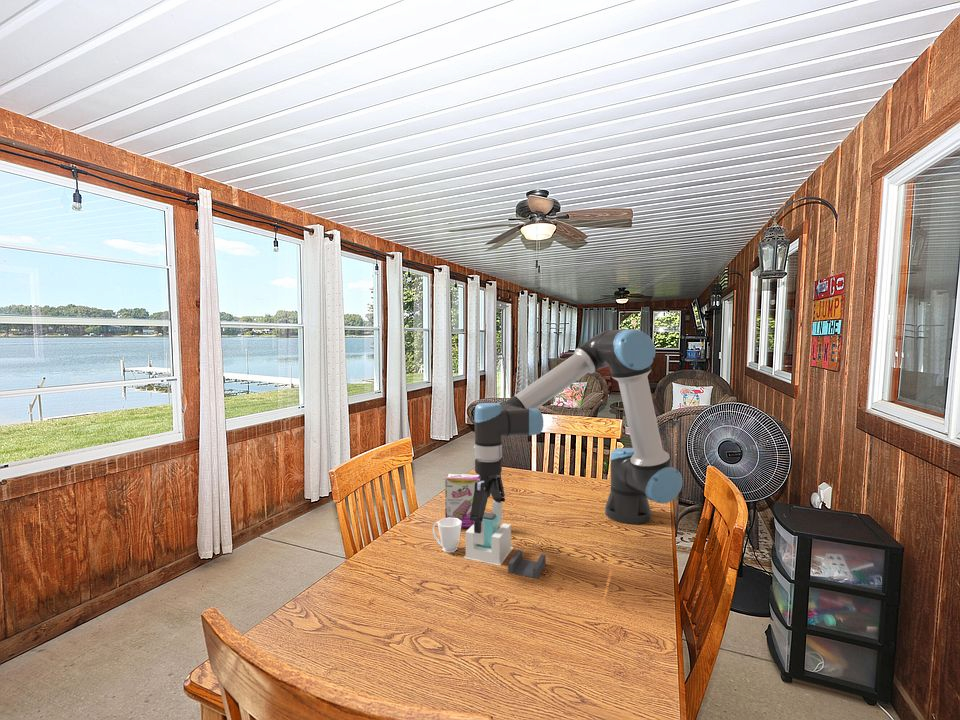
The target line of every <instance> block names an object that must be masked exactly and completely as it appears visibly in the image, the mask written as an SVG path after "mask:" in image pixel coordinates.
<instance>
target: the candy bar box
mask: <svg viewBox="0 0 960 720" xmlns="http://www.w3.org/2000/svg"><path fill="white" fill-rule="evenodd" d="M444 480H445V511H444V512H445V517H444V518H448V517H451V518H458V519H459V520H461V521H462V524H461V529H462V528H463V529H469V528H470V527H471V526H472V525H473V524H474V521H472V520H470V514H471V508H472V503H473V497H474V491H475V482H479V481H480V475H479V474H468V473H467V474H466V473H447V475H446V476H445V479H444Z"/></svg>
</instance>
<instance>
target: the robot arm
mask: <svg viewBox="0 0 960 720" xmlns="http://www.w3.org/2000/svg"><path fill="white" fill-rule="evenodd" d="M655 357H656V346H655V343H654V341H653V340H652V338H651V337H650V336H649V335H648V334H647V333H645V332H644V331H642V330H638V329H632V328H625V329H616V330H615V329H614V330H613V329H611V330H610V329H609V330H604V331H601V332H599V333H598V334H596V335H594V336H593V337H591V338H590V339H588V340H587V341H586V342H584V343H583V344H580V345H579V346H578V347H576V349H574V352H573V354H572V355H571V356H569V357H568V358H566V359H565V360H564V361H562V362H561V363H559V364H558V365H556V366H555V367H554V368H552V369H551V370H549V371H548V372H547V373H544V375H542V376H540V377H539V378H538V379H536V380H534V381H533V382H532V383H531V384H529V385H527V386H526V387H525V388H524V389H522V390H520V391H519V392H518V393H516V394H515V395H513V396H511V397H510V398H509V399H507V400H502V401H499V402H481V403H477V405H475V408H474V420H473V421H474V445H473V449H474V458H475V459H474V472H475V473H476V475H480V481H479V482H475V491H474V497H473V503H472V508H471V514H470V520H472V521H474V543H476V544H481V545H484V520H483V516H484V513H485V511H486V508H487V507H486V506H487V503H488V500H489V499H488V498H490V497H492V499H493V501H492V503H491V506H492V510H491V511H492V513H493V514H496V516H498V526H501V525H502V524H503V503H505V502H506V498H505V496H506V494H505V490H504V486H503V480H502V471H503V470H502V469H503V467H502V466H503V465H502V464H503V461H502V459H501V458H502V457H503V445H502V443H503V442H502V439H503V437H505V438H506V437H519V436H520V437H522V436H529V437H530V436H534V435H539V434H541V433H542V431H543V428H544V416H543V413H542V412H541V409H539V408H540V407H542V406H543V405H544V404H546V403H547V402H549V401H550V400H551V399H553V398H554V397H556V396H557V395H559V394H560V393H561V392H563V391H564V390H565V389H567V388H568V387H570V386H572V385H574V383H576V382H577V381H579V380H580V379H581V378H583V377H584V376H586V375H587V374H594V373H596V372H598V370H600V369H603V368H608V367H609V371H610V375H611V378H612V379H613V380H615V381H617V382H618V387H619V391H620V392H619V393H620V395H621V401H622V405H623V410H624V413H625V414H624V415H625V418H626V423H627V428H628V432H629V436H630V443H631V446H632V447H620V448H619V447H618V448H615V449H613V450H612V451H611V453H610V490H609V491H610V492H609V495H608V497H607V500H606V504H605V506H604V514H605V515H606V517H608V518H609V519H611V520H613V521H616V522H620V523H623V524H629V525H630V524H632V525H635V524H636V525H637V524H639V525H640V524H646V523H649V522H650V521H651V520H652V516H653V515H652V509H651V505H650V503H649V501H651V502H655V503H656V504H668V503H671V502H672V501H673V500H675V499H676V498H677V497H678V496H679V494H680V492H681V491H682V488H683V476H682V474H681V472H680V471H679V470H678V469H677V468H675V467H673V466H672V461H671V457H670V454H669V453H668V452H667V451H666V450H664V448H663V444H662V439H661V435H660V431H659V430H660V429H659V425H658V421H657V416H656V412H655V411H656V410H655V406H654V401H653V398H652V392H651V387H650V383H649V379H648V376H649V374H650V373H651V372H652V366H651V365H652V364H653V362H654V359H655Z"/></svg>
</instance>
